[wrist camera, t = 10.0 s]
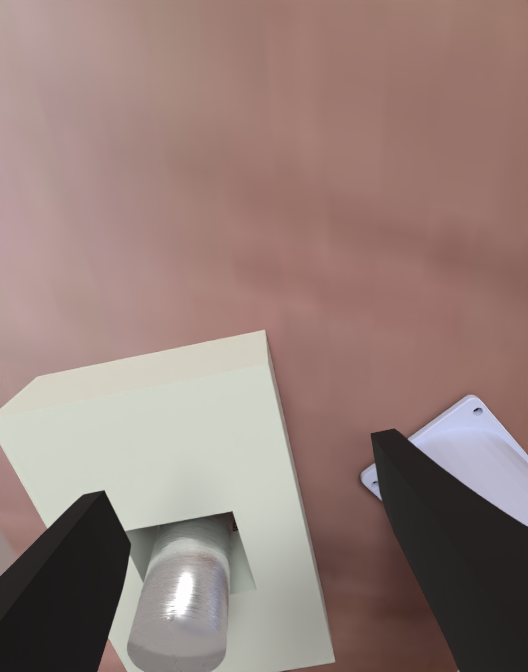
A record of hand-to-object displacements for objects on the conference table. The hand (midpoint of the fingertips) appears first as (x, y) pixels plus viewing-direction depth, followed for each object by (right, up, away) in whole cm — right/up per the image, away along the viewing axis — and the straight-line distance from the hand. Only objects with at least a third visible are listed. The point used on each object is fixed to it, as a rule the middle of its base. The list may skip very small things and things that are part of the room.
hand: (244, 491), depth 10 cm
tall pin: (-3, -6, +13) cm, 14 cm away
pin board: (-3, -6, +13) cm, 14 cm away
